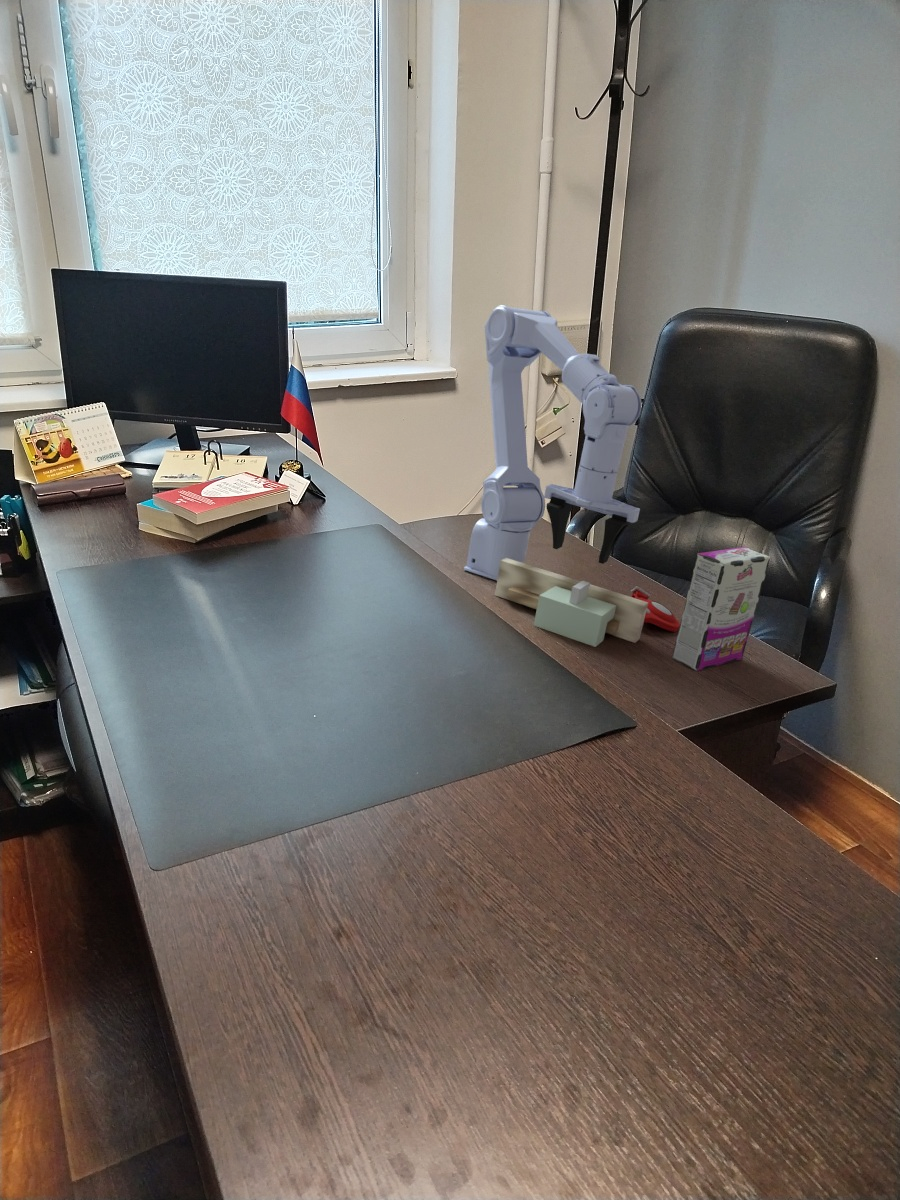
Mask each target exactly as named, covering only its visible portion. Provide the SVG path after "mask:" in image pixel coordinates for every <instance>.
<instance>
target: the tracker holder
mask: <svg viewBox="0 0 900 1200" xmlns="http://www.w3.org/2000/svg"><path fill="white" fill-rule="evenodd" d="M630 592H631V593H632V594H631V596H630V597H632V598H636V599H639V600H642V601H645V602H648V606H647V610H646V614H645V619H644V623H650V624H652V625H654V626H657V627H658V628H661V629H664V630H666V631H669V632H672V633H675V632H677V631H679V627H680V623H681V622H680V621H679V620H678V619H677V618H676V617H675V615H674V613H673V612H672V611H671V610H670V609H669V608H668V607H666V606H665V605H663V604H662V603H660V602H658V601H655V600H652V599H649V598H651V594H650V593H648V592H647V591H645V590H644V589H642V588H641V587H639V586H635V587H634V588H633V589H631V590H630Z"/></svg>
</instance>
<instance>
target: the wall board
mask: <svg viewBox="0 0 900 1200" xmlns="http://www.w3.org/2000/svg"><path fill="white" fill-rule="evenodd" d="M581 581H582V580H577V579H575V578H573V577H568V576H566V575H563V574H559V573H556V572H552V571H549V570H546V569H543V568H539V567H537V566H534V565H530V564H527V563H525V562H524V563H521V562H518V561H515V560H512V559H509V558H505V559H503V560H501V562H500V568H499V573H498V579H497V580H496V586H495V591H494V596H496V597H499V598H501V599H505V600H507V601H511V602H513V603H517V604H520V605H522V606H525V607H529V608H531V609H535V610H537V605H538V600H539V595H541V594H543V593H544V592H546V591H548V590H550V589H551V588H553V587H555V586H557V587H560V588H564V589H567V590H570V591H572V587H573V586H575V585H576V584H578V583H580V582H581ZM587 596H588V597H592V598H595V599H598V600H601V601H604V602H607V603H610V604H613V605H616V610H615V614H614V618H613V619H611V620H610V621H609V622H608V623H607V626H606V631H605V634H607V635H611V636H614V637H616V638H619V639H623V640H625V641H628V642H632V643H635V644H636V643H637V642H638V641H639V640H640V639H641V634H642V630H643V628H644V627H643V626H644V623H645V622H644V619H645V614H646V610H647V606H648V602H645V601H642V600H639V599H636V598H632V597H631V596H630V595H626V594H623V593H620V592H617V591H613V590H610V589H606V588H603V587H601V586H598V585H594V584H591V583H590V586H589V590H588V595H587Z"/></svg>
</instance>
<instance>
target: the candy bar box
mask: <svg viewBox="0 0 900 1200" xmlns="http://www.w3.org/2000/svg"><path fill="white" fill-rule="evenodd" d="M770 560H771V556H769V555H767V554H764V553H761V552H759V551H757V550H755V549H751V548H749V547H745V546H741V547H734V548H727V549H720V550H712V551H707V552H706V551H705V552H698V553H697V555H696V558H695V563H694V567H693V572H692V576H691V579H690V583H689V587H688V591H687V594H686V595H687V596H686V601H685V604H684V608H683V612H682V615H681V619H680V622H679V623H680V627H679V629H678V632H677V636H676V640H675V644H674V648H673V653H672V655H671V657H672V659H673V660H675V661H677V663H680V664H682V665H684V666H686V667H688V668H690V669H692V670H693V671H696V672H699V671H703V670H707V669H708V670H709V669H710V668H711V669H712V668H714V667H718V666H721V665H726V664H728V663H733V662H737V661H739V660H742V659H743V656H744V654H745V650H746V645H747V642H748V639H749V634H750V631H751V627H752V624H753V620H754V617H755V615H756V610H757V606H758V603H759V599H760V597H761V593H762V588H763V585H764V582H765V578H766V576H767V575H766V574H767V570H768V568H769V563H770Z"/></svg>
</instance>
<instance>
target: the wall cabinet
mask: <svg viewBox="0 0 900 1200" xmlns="http://www.w3.org/2000/svg"><path fill="white" fill-rule="evenodd" d="M580 581H581V582H580V583H578V584H576V585H575V586H573V587H572V591H570V590H567V589H564V588H560V587H557V586H555V587H553V588H551V589H550V590H548V591H546V592H544V593H543V594H541V595H539V600H538V605H537V609H536V612H535V616H534V622H533V626H534V627H537V628H540V629H543V630H545V631H548V632H552V633H554V634H558V635H561V636H563V637H565V638H569V639H571V640H574V641H577V642H581V643H583V644H586V645H589V646H591V647H594V648H595V647H597V646H598V645H600V644H601V643H602V642H603V641H604V639H605V634H606V633H605V631H606V626H607V623H608V622H609V621H610V620H611V619H613V618H614V614H615V610H616V605H613V604H610V603H607V602H604V601H601V600H598V599H595V598H592V597H588V596H587V595H588V590H589V586H590V584H591V583H590V582H588V581H586V580H580Z"/></svg>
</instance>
